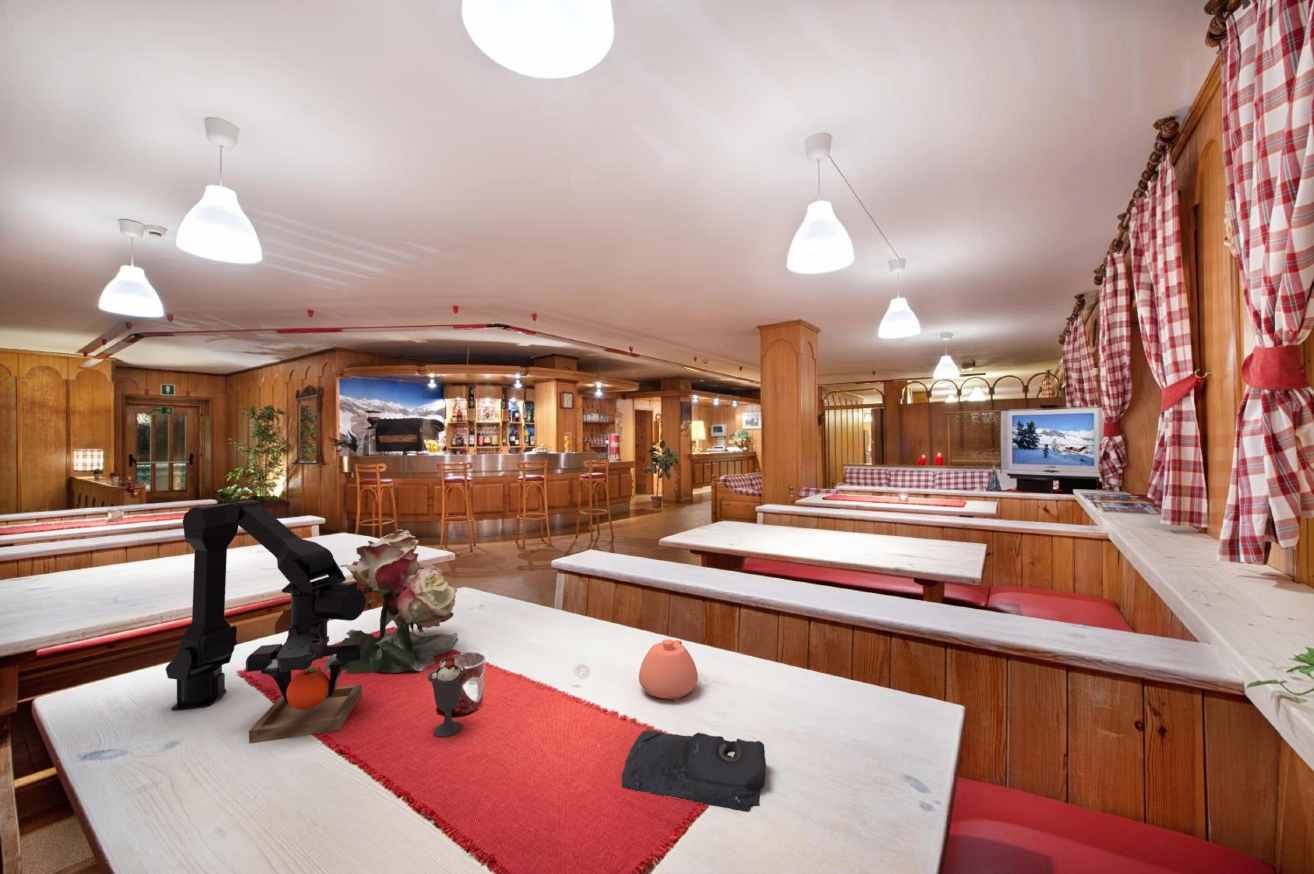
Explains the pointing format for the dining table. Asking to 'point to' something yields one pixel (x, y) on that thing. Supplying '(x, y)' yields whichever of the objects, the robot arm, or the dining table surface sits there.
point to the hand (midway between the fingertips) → (309, 697)
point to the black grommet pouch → (697, 769)
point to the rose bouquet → (401, 606)
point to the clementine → (308, 689)
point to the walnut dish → (306, 716)
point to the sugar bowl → (668, 670)
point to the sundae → (447, 692)
